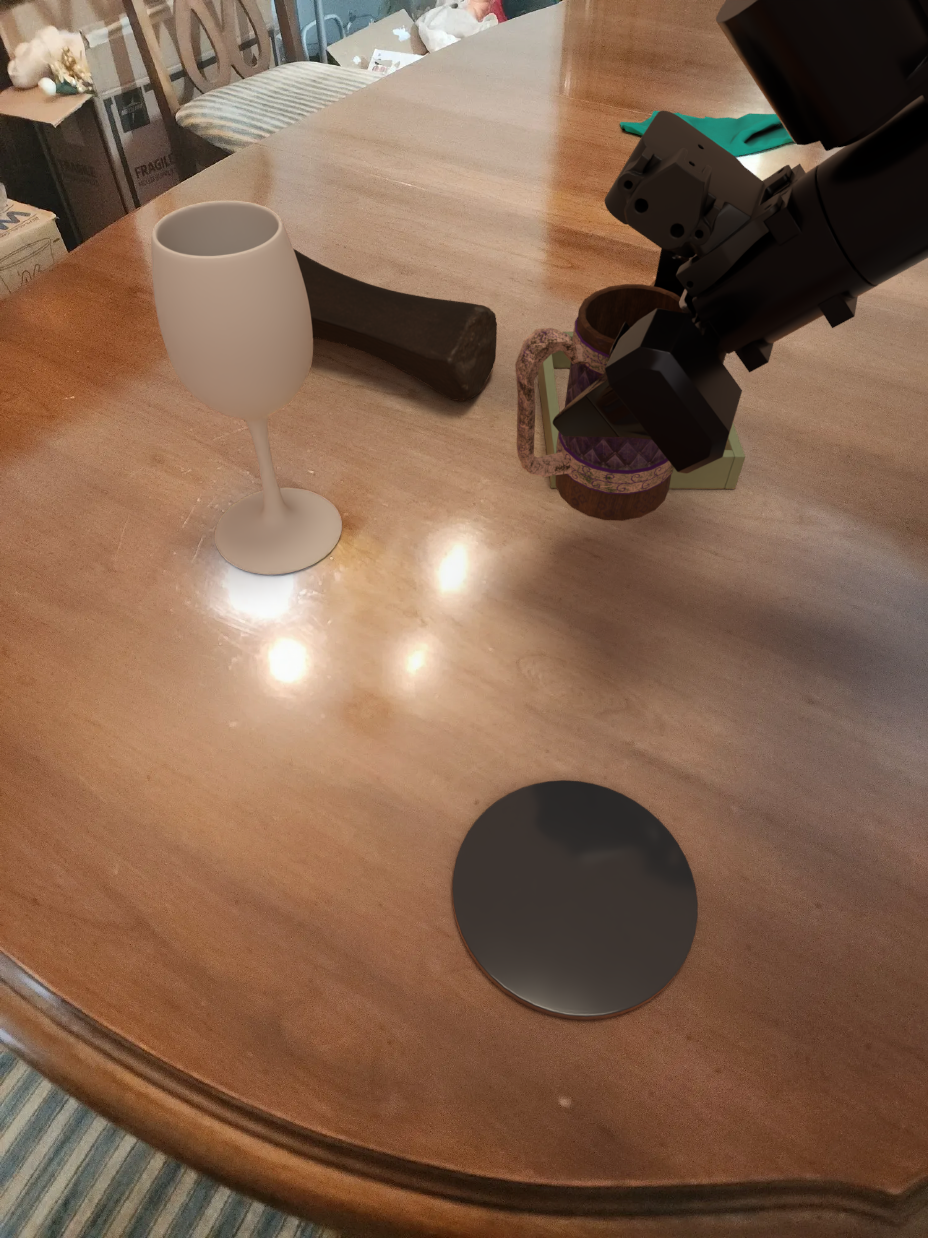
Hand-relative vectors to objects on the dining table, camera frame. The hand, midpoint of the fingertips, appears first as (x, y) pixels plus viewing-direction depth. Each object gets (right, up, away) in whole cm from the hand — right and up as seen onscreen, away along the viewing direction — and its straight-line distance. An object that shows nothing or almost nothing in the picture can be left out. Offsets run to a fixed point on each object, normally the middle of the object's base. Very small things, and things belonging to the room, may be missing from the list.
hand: (576, 392), depth 48 cm
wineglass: (-19, -7, +12) cm, 23 cm away
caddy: (+7, +3, +20) cm, 22 cm away
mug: (+1, -5, +5) cm, 7 cm away
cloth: (+26, +48, +60) cm, 82 cm away
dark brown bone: (-17, +11, +27) cm, 34 cm away
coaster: (-1, -26, -5) cm, 27 cm away
